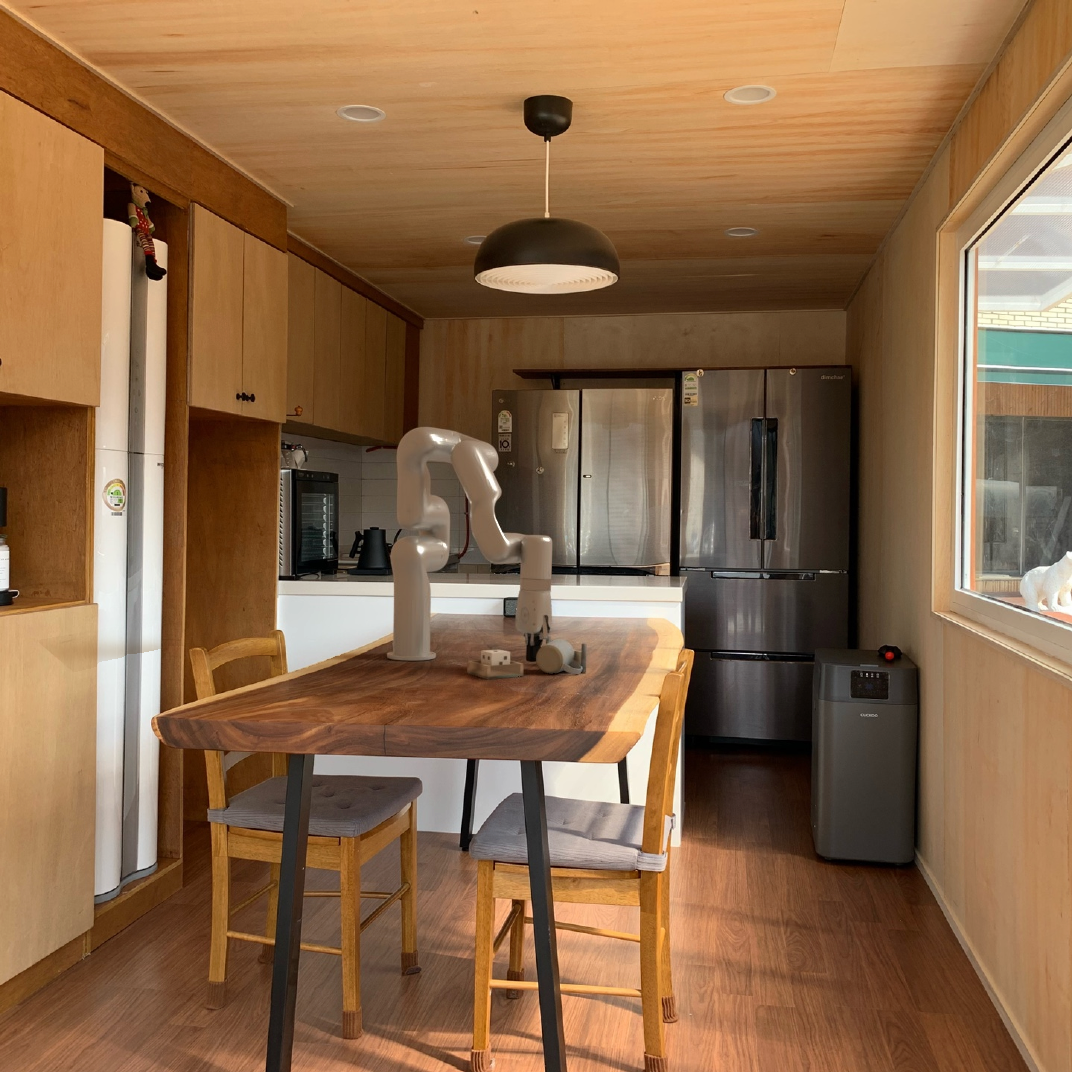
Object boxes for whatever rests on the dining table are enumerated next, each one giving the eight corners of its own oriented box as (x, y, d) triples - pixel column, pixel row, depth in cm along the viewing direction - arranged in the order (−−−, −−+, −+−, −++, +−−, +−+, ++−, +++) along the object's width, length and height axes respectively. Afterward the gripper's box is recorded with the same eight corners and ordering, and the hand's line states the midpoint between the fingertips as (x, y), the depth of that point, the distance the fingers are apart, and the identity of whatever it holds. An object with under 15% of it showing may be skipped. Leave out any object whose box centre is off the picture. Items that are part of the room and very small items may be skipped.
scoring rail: (544, 664, 264) (545, 636, 264) (548, 663, 264) (549, 636, 264) (582, 673, 249) (583, 644, 249) (587, 673, 250) (587, 643, 250)
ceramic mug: (533, 673, 248) (534, 641, 247) (545, 668, 255) (546, 637, 255) (575, 677, 244) (576, 644, 244) (586, 672, 252) (587, 640, 251)
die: (480, 671, 245) (480, 650, 245) (499, 670, 248) (499, 649, 248) (491, 674, 241) (491, 652, 241) (510, 673, 244) (510, 651, 244)
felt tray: (467, 673, 246) (467, 660, 246) (502, 670, 251) (502, 658, 251) (487, 679, 238) (487, 666, 238) (523, 676, 243) (523, 663, 243)
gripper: (506, 583, 257) (504, 657, 258) (538, 588, 245) (536, 666, 245) (532, 583, 261) (530, 656, 262) (565, 588, 249) (562, 664, 249)
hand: (533, 661), depth 254 cm, fingers closed
